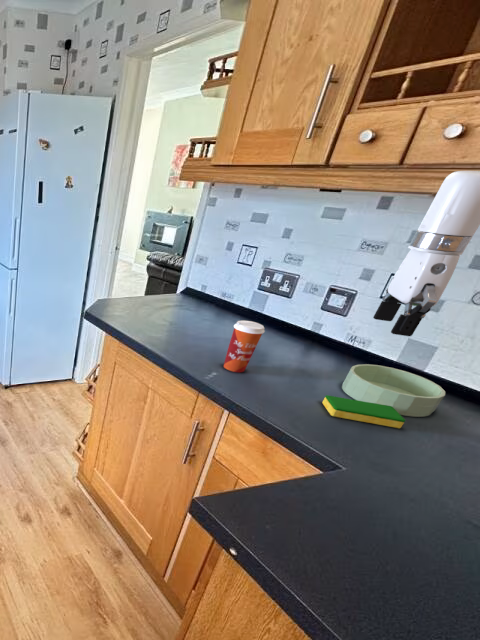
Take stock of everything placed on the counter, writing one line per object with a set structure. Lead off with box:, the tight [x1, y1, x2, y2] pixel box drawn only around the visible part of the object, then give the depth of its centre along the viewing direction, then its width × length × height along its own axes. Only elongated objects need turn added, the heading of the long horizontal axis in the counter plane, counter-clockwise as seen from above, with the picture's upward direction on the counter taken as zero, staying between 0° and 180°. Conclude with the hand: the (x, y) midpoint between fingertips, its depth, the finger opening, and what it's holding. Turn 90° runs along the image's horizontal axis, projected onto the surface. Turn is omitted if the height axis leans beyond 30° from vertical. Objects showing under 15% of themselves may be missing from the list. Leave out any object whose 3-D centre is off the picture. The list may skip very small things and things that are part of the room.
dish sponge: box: [321, 394, 406, 429], centre depth 102 cm, size 7×14×2 cm, turn 69°
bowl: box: [341, 363, 446, 418], centre depth 109 cm, size 18×18×6 cm
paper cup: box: [223, 320, 266, 373], centre depth 121 cm, size 8×8×14 cm
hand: (390, 326), depth 87 cm, fingers open, 9 cm apart
